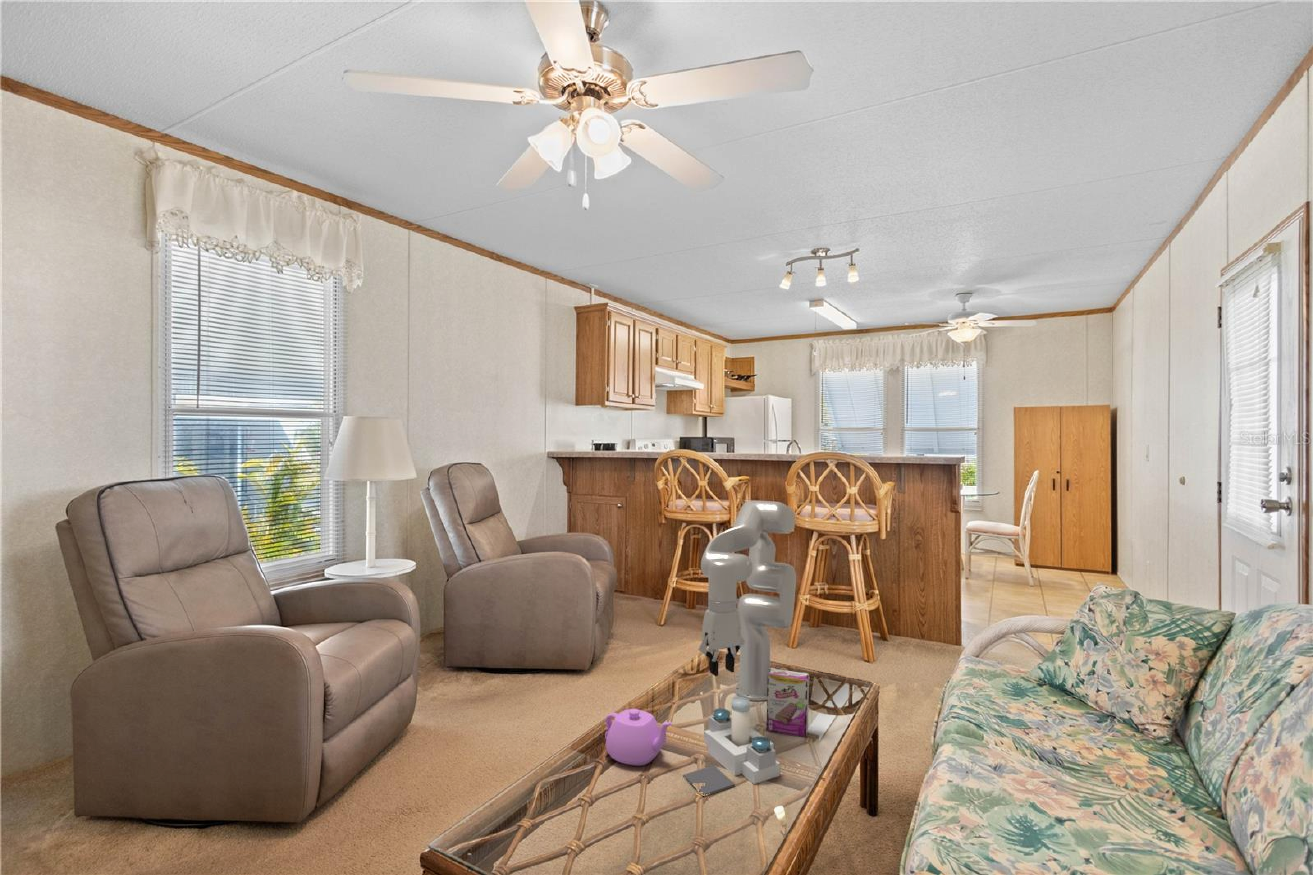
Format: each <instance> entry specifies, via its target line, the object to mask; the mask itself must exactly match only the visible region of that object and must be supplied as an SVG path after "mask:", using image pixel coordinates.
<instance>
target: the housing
mask: <svg viewBox="0 0 1313 875" xmlns="http://www.w3.org/2000/svg"><path fill="white" fill-rule="evenodd" d="M731 723H732V717H731V716H730V717H729V718H728V719H727V721H726V722H723V723H719V722H718V721H716V718H715V717H714V716H713V715H712V716H708V729H707V730H703V742H704V743H705V744H706V745H707V753H708V755H710V756H711V757H712V758H714V759H715V760H716V761H717V762H718V763H719V764H721V765H722V767H724V768H725V769H726V770H727V771H729V772H730V774H732V775H733V776H734V777H736V776H739V775H743V777H744V778H746V779H747V780H748V781H750V783H752V784H753V785H757V784H758V783H762V782H765V781H768V780H770V779H774V778H776V777H779V776H781V762H779V761H778V760H777V758H776V757H777V756H776V754H777V753H776V752H777V751H776V750H775V749H774V748H775V747H774V743H773V742H772V741H771V740H770V748H769V749H767V752H764V753H761V754H759V753H758V752H757V751H755V748H754V747H753V746H752V739H753V738H754V737H759V736H760V737H765V736H764V735H762V734H761V733H760V732H758V731H757V730H756V729H754V728H752V727H751V726H750V725H749V744H746V745H743V746H739V747H737V746H736V745H735V744H733V743H732V742H731Z"/></svg>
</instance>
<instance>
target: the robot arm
mask: <svg viewBox="0 0 1313 875" xmlns="http://www.w3.org/2000/svg"><path fill="white" fill-rule="evenodd" d="M795 526H796V515H795V512H794V510H793V509H792V508H791V507H790V506H788V505H787V504H785V503H783V502H781V501H772V500H770V501H769V500H748V501H746V502H744V504H743V505H741V508H740V509H739V512H738V514H737V517H736V518H735V521H734V523H733V526H732V527H731V528H728V529H726V530H724V531H723V532H721V533H719V534H717V535H716V536H714V537H713V538H712V539H710V541H709V542H708V544H707V546H706V547H705V550H704V551H703V554H702V557H701V560H700V570H701V572H702V575H704V577H706V578H708V586H707V587H708V595H707V596H708V599H707V600H708V603H707V605H708V606H707V608H708V609H706V610H705V613H704V615H703V621H702V622H703V623H702V632H701V644H700V646H699V648H698V652H700V653H702V654H703V655H704V656H706V658H707V659H708V660H709V662H708V668H709V669H708V670H709V673H710V674H712V675H713V676H715V677H718V676H719V661H718V659H717V658H718V654H719V651H720V650H724V649H726V652H727V653H726V654H725V655H724V656H725V657H724V658H725V659H724V660H725V662H724V663H725V665H724V666H725V670H727V671H729V672H730V673H734V672H735V665H736V664H735V662H736V661H735V658H737V654H738V652H739V670H738V673H735V675H734V677H735V678H736V679H738V683H737V684H736V685H735V687H734V692H735V694H736V695H737V696H741V697H746V698H748V699H749V700H750V701H755V702H758V701H767V682H768V672H769V670H770V668H771V638H770V634H769V633H768V630H767V629H766V627H768V628H776V629H788V628H790V627H791V625H792V623H793V620H794V619H793V618H794V610H795V600H796V599H795V597H796V589H797V587H796V586H797V574H796V573H797V572H796V570H795V567H794V566H793V565H791V564H789V563H785V562H776V561H775V559H776V551H777V549H776V545H775V543H774V542H773V540H772V538H771V537H770V535H768V533H771V534H784V535H785V534H786V535H788V534H791V533H792V532H793V531H794V529H795ZM747 549H749V552H748V556H747V555H746V554H742V553H736V552H740V551H745V550H747ZM734 552H735V553H734ZM745 581H746V585H747V586H748V588H750V589H752V590H756V591H761V592H771V593H777V594H779V596H775V595H768V594H759V593H746V594H743V595H741V596H740V598H737V587H738V586H737V583H738V584H739V583H742V582H745ZM707 648H708V650H707Z"/></svg>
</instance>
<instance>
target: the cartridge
mask: <svg viewBox="0 0 1313 875" xmlns="http://www.w3.org/2000/svg"><path fill="white" fill-rule="evenodd" d="M750 702H751V700H749V699H748V698H746V697H741V696H738V695H737V696H734V697H732V698H731V718H732V723H731V742H732V743H733V744H735V745H736V746H737V747H739V746H743V745H746V744H749V726H750V713H751V712H750V711H751V708H750V707H751V706H750V705H751V703H750Z"/></svg>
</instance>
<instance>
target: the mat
mask: <svg viewBox="0 0 1313 875" xmlns="http://www.w3.org/2000/svg"><path fill="white" fill-rule="evenodd" d="M683 776H684V777H685V778H686V780H687V781H688V782H690V783H691V784H693V783H697V784H698V783H705V786H701V789H699V792H703V793H702V794H703V795H704V794H705V795H706V794H709V793H710V794H711V795H714V794H716V793H720V792H722V791H726V790H729V789H731V788H734V787H736V783H735V782H734V781H732V780H731V779H730V778H729V777H728V776H727V775H726V774H725V773H723V772H722V771H721V770H720V769H719V768H717V766H715V765H713V764H712V765H710V766H707V767H705V768H704V767H703V768H700V769H696V770H695V771H694V770H693V771H690V772H687V773H685V774H683V775H682V777H683ZM686 780H685V781H686ZM687 781H686V782H687ZM688 782H687V783H688Z"/></svg>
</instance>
